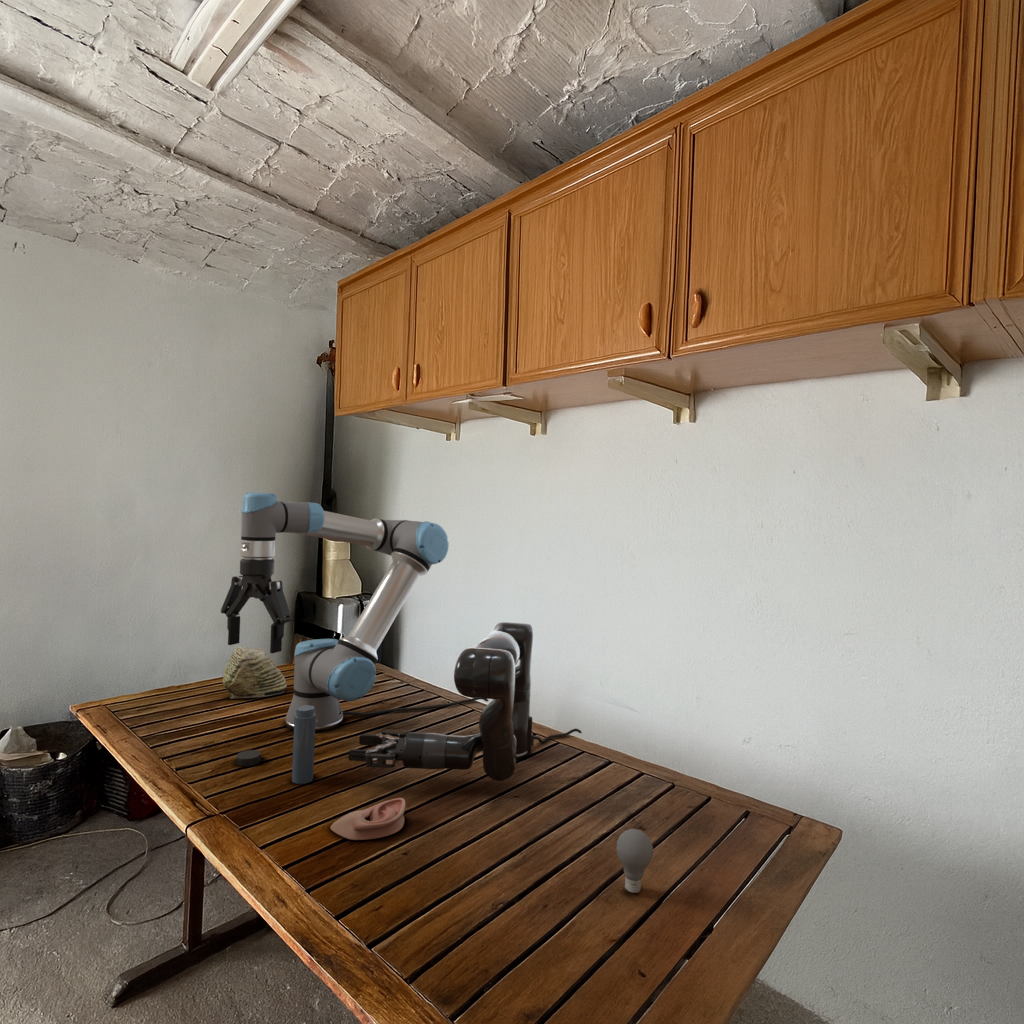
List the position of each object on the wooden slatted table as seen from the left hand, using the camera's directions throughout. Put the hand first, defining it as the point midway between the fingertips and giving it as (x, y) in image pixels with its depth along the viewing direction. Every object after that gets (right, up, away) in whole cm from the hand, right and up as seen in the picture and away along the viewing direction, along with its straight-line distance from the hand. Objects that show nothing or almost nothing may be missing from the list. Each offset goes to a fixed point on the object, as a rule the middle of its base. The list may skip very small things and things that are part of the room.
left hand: (254, 648), depth 149 cm
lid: (-1, -25, 0) cm, 26 cm away
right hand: (+26, -20, -8) cm, 34 cm away
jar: (+14, -28, -8) cm, 32 cm away
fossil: (-20, -25, +49) cm, 58 cm away
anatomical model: (+33, -29, -27) cm, 51 cm away
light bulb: (+81, -31, -44) cm, 97 cm away
